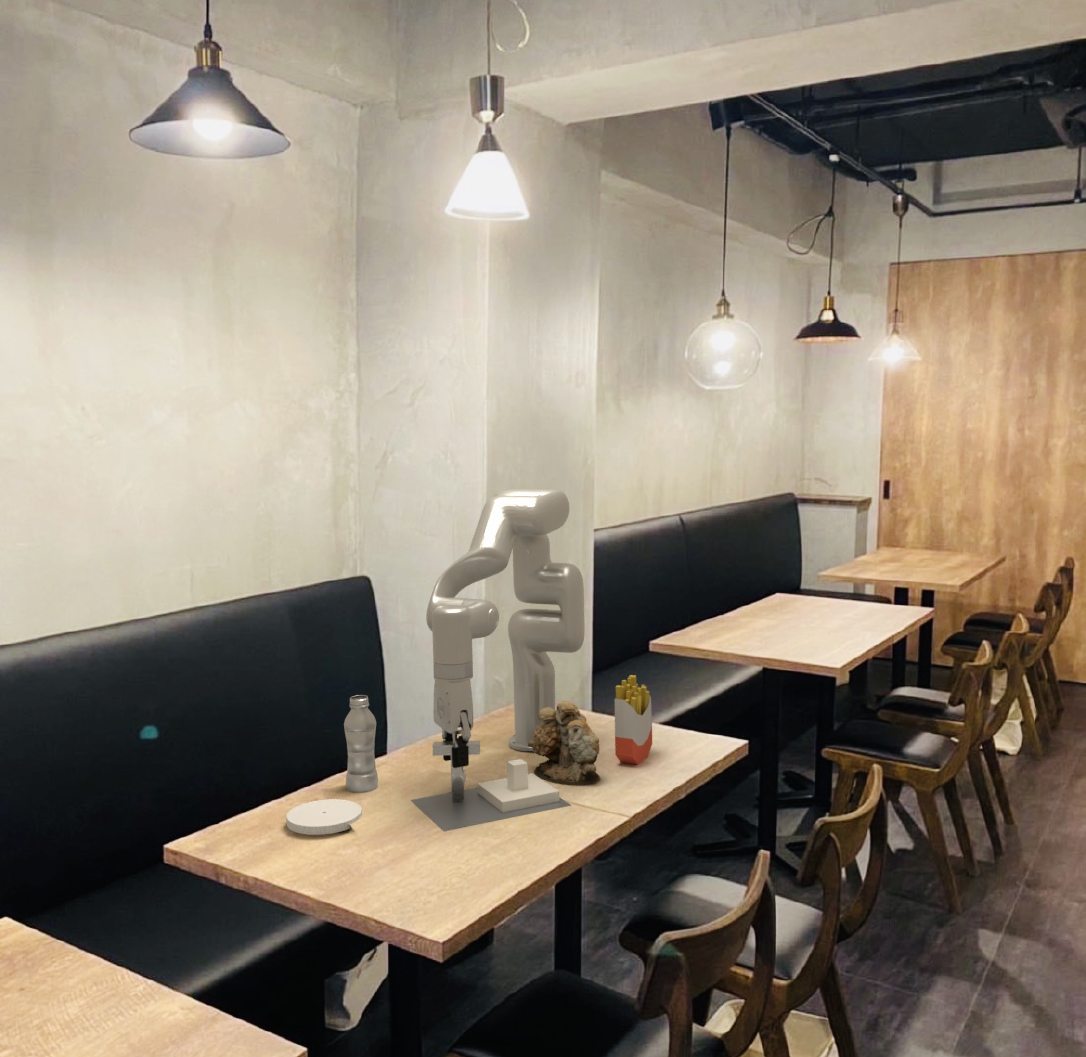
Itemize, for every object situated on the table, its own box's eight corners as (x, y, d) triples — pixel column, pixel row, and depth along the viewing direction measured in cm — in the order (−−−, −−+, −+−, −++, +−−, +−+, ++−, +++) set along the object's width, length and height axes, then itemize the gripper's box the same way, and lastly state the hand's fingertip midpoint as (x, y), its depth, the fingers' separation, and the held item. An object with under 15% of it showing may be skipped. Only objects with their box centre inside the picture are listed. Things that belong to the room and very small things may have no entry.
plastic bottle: (339, 797, 213) (335, 699, 211) (360, 786, 219) (356, 691, 216) (365, 801, 210) (361, 703, 208) (385, 791, 216) (381, 695, 213)
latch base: (530, 784, 218) (530, 777, 217) (571, 812, 202) (571, 805, 201) (410, 807, 206) (410, 799, 206) (444, 839, 190) (443, 831, 190)
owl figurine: (513, 782, 220) (511, 701, 218) (548, 767, 229) (546, 690, 227) (583, 799, 209) (582, 714, 207) (617, 783, 218) (616, 701, 216)
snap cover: (532, 782, 214) (531, 749, 214) (559, 801, 204) (558, 765, 203) (477, 793, 209) (476, 758, 208) (502, 812, 198) (501, 776, 198)
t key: (437, 787, 212) (435, 732, 211) (482, 786, 212) (481, 731, 211) (434, 802, 204) (432, 745, 203) (481, 800, 204) (479, 744, 203)
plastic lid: (363, 809, 206) (362, 796, 206) (362, 836, 193) (361, 823, 192) (289, 814, 204) (289, 802, 204) (283, 842, 191) (282, 829, 190)
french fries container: (654, 753, 236) (653, 674, 234) (634, 768, 226) (633, 686, 225) (635, 751, 238) (634, 673, 236) (615, 765, 229) (614, 684, 227)
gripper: (420, 663, 208) (423, 754, 210) (450, 681, 193) (453, 778, 195) (455, 659, 211) (458, 748, 213) (488, 676, 196) (490, 772, 198)
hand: (455, 762), depth 204 cm, fingers closed on t key, 4 cm apart
